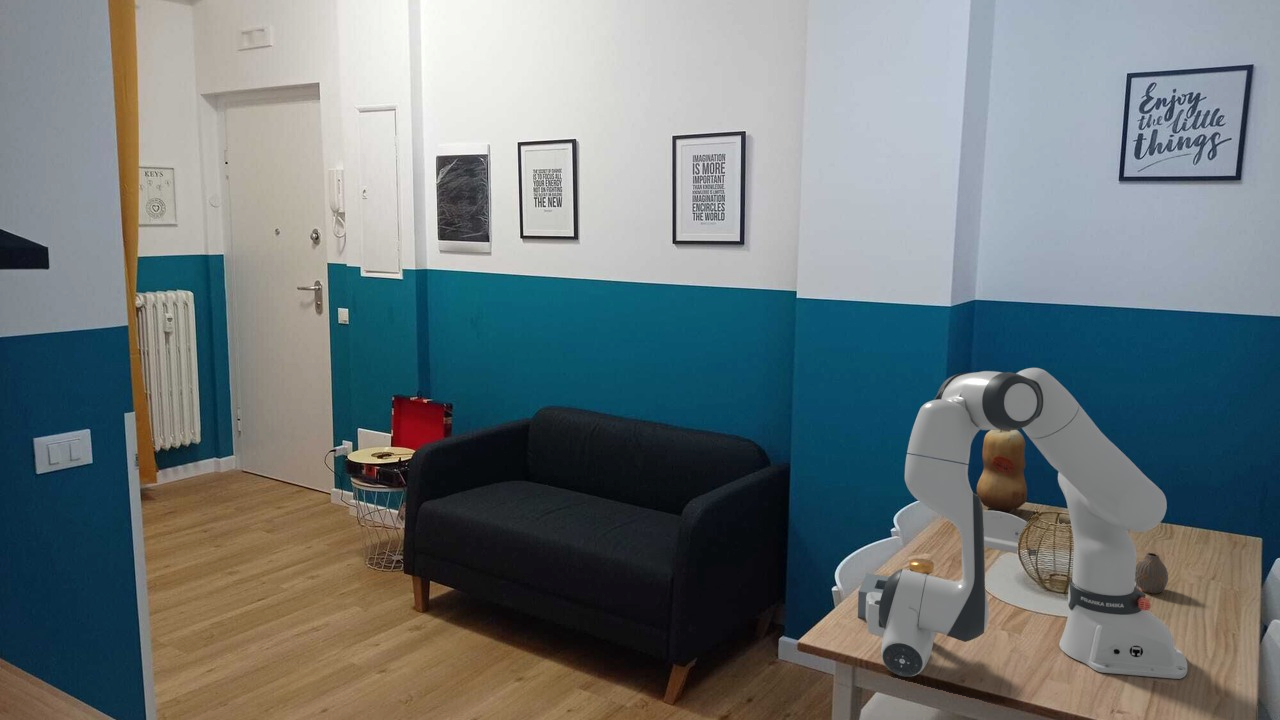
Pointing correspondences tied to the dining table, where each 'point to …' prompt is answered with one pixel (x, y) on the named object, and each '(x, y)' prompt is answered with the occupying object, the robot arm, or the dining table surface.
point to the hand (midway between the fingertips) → (920, 597)
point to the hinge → (1002, 530)
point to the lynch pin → (921, 566)
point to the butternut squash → (1003, 471)
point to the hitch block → (870, 590)
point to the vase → (1151, 574)
